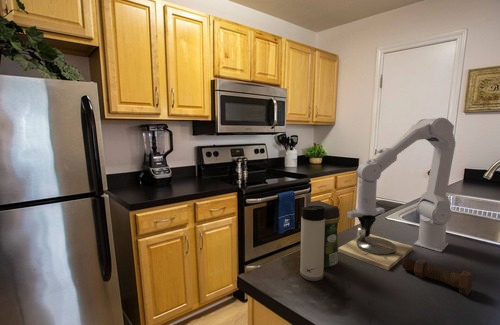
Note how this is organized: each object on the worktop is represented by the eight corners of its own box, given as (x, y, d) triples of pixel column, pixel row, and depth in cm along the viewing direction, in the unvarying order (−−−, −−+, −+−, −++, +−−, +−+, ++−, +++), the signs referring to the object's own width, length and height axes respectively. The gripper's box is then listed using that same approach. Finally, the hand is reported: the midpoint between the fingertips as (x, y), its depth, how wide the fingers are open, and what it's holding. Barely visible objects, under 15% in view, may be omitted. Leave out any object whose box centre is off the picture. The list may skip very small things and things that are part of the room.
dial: (348, 245, 88) (349, 231, 87) (365, 236, 96) (366, 223, 95) (386, 258, 78) (387, 243, 78) (401, 247, 86) (402, 232, 86)
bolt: (404, 274, 76) (469, 298, 64) (397, 271, 73) (465, 295, 61) (408, 254, 77) (473, 274, 66) (402, 250, 75) (469, 270, 63)
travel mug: (311, 284, 68) (312, 210, 66) (295, 272, 74) (296, 204, 71) (329, 278, 71) (331, 207, 69) (312, 267, 77) (314, 201, 74)
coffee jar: (301, 256, 83) (302, 200, 81) (321, 251, 86) (322, 197, 84) (321, 271, 74) (323, 208, 72) (342, 265, 78) (344, 204, 76)
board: (365, 235, 100) (365, 232, 99) (412, 249, 88) (412, 245, 87) (337, 251, 87) (337, 247, 86) (388, 270, 75) (388, 265, 74)
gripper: (358, 202, 84) (356, 243, 85) (392, 198, 88) (390, 236, 90) (343, 197, 90) (342, 235, 92) (376, 194, 95) (374, 229, 97)
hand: (365, 235), depth 91 cm, fingers closed
